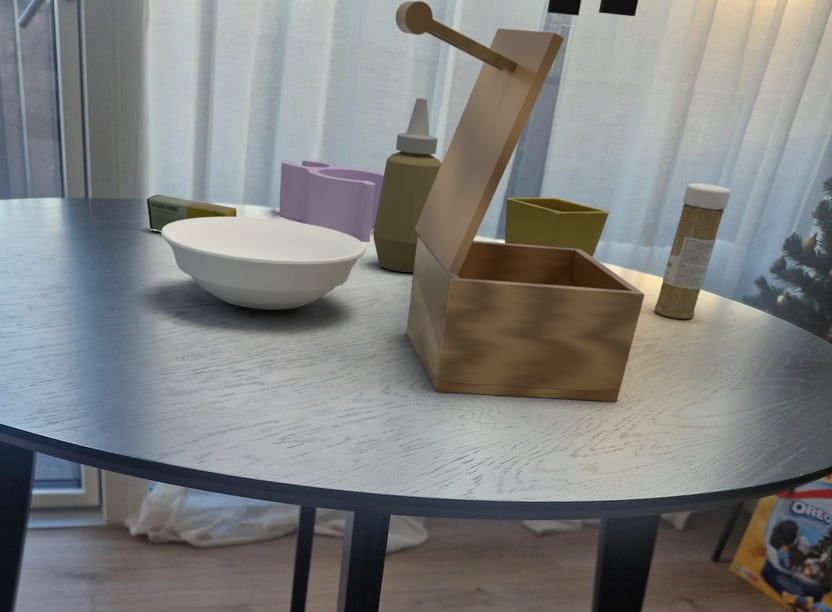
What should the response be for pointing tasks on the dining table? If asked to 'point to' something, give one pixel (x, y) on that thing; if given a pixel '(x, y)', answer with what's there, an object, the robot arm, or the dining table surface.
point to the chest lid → (479, 127)
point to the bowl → (262, 259)
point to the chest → (522, 322)
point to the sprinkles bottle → (691, 249)
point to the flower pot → (553, 223)
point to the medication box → (182, 210)
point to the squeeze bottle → (405, 192)
